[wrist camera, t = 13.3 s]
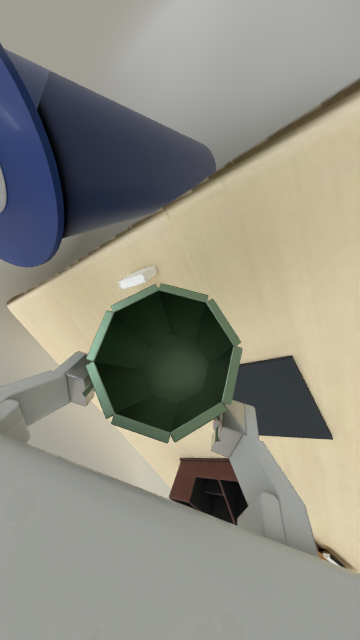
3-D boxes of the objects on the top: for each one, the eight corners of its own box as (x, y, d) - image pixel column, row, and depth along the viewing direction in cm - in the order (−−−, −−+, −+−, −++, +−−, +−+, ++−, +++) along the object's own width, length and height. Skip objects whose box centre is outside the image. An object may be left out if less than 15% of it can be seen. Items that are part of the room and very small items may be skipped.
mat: (203, 370, 38) (202, 372, 38) (291, 355, 29) (292, 358, 28) (247, 432, 44) (247, 434, 44) (332, 436, 35) (333, 439, 34)
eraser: (158, 272, 30) (145, 282, 27) (135, 280, 32) (121, 289, 29) (154, 264, 29) (141, 273, 26) (131, 273, 32) (117, 282, 29)
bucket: (217, 343, 18) (200, 414, 16) (153, 325, 18) (130, 392, 17) (251, 305, 9) (219, 462, 7) (122, 272, 9) (64, 408, 8)
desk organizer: (179, 457, 69) (166, 496, 61) (249, 458, 51) (244, 514, 42) (199, 474, 71) (189, 514, 63) (273, 480, 52) (273, 539, 44)
